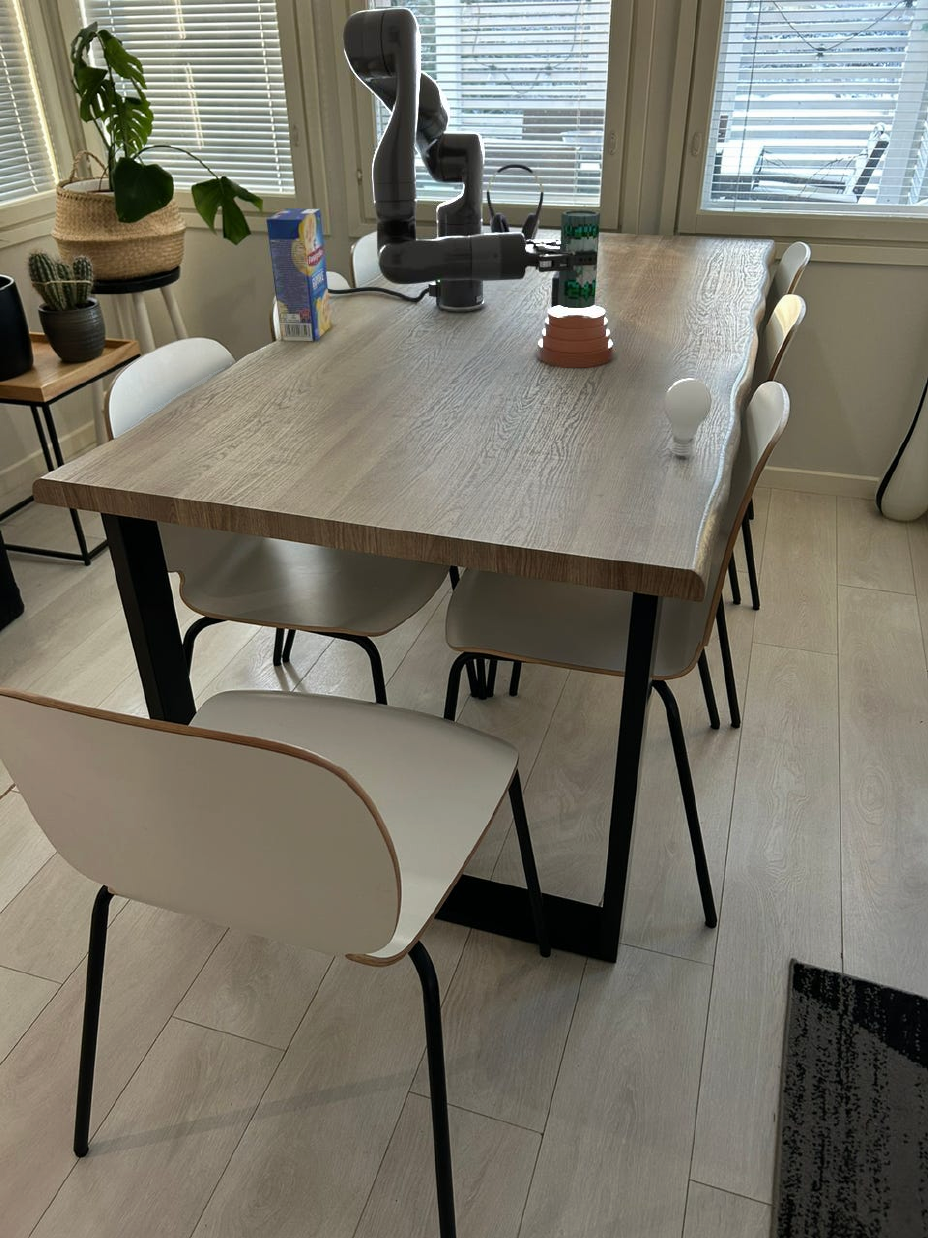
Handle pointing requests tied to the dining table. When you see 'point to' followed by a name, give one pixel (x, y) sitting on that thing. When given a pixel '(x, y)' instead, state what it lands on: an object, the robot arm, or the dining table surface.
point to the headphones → (498, 219)
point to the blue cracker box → (299, 273)
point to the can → (580, 281)
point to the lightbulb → (686, 412)
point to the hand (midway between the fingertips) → (591, 253)
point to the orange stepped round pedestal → (575, 338)
